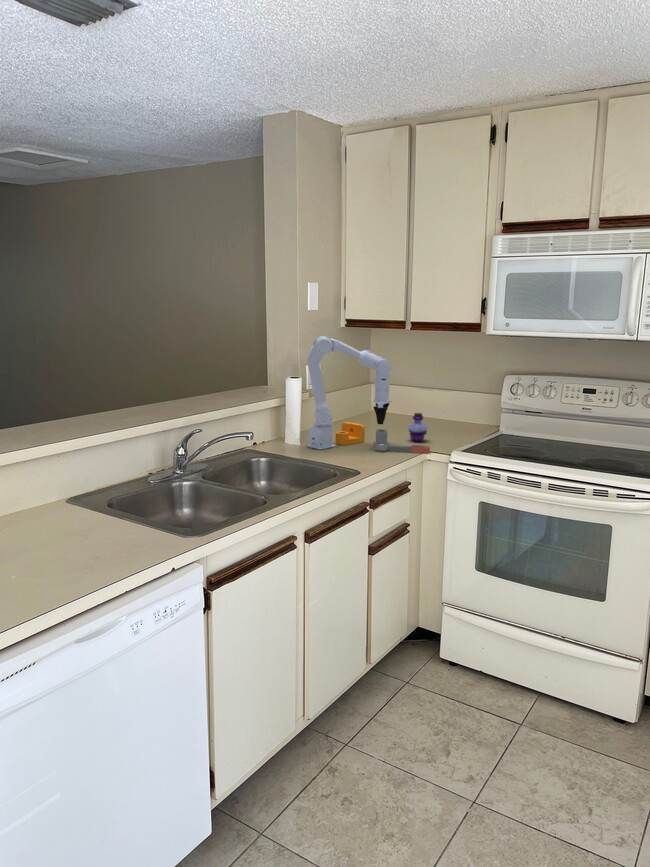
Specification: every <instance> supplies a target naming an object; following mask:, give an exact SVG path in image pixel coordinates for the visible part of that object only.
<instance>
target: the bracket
mask: <svg viewBox="0 0 650 867" xmlns="http://www.w3.org/2000/svg"><path fill="white" fill-rule="evenodd" d="M365 434H366V427H365V425H364V424H361V423H357V422H356V423H355V422H348V421H345V422H342V423H341V430H340V431H339V430H338V431H335V441H334V442H335V444H334V445H338V446H346V445H347V446H348V445H356V444H357V445H358V444H362V443H365V441H366V440H365V439H366V437H365Z"/></svg>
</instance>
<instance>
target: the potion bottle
mask: <svg viewBox="0 0 650 867" xmlns="http://www.w3.org/2000/svg"><path fill="white" fill-rule="evenodd" d="M412 420H414V422H412V423H408V424H407V429H408V432H409V438H410V442H412V443H417V444H419V443H423V442H424V440H425V437H426V435H427V432H428V428H429V425H428V424H427V423H423V422H422V421H423V420H424V415H423V413H422V412H415V413H414V415H413V416H412Z"/></svg>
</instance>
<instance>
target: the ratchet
mask: <svg viewBox="0 0 650 867" xmlns="http://www.w3.org/2000/svg"><path fill="white" fill-rule="evenodd" d="M373 451H374V452H377V451H378V452H377V453H387V451H388V452H391V451H394V452H395V453H396V452H397V453H410V454H429V455H430V454H431V452H430V451H431V446H430V445H422V444H421V445H418V444H417V445H415V444H412V445H398V444H397V445H394V444H390V442H387V444H376V441H374V443H373ZM394 452H393V453H394Z"/></svg>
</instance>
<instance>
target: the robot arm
mask: <svg viewBox="0 0 650 867" xmlns="http://www.w3.org/2000/svg"><path fill="white" fill-rule="evenodd" d="M330 352H333V353H336V352H342V353H344V354H345V355H348V356H349V357H352V358H355V359H356V360H357V362H358V364H360V365H361V366H364V367H367V368H368V369H371V370H372V371H373V370H375V379H374V380H375V383H374V401H373V402H374V403H375V406H373V410H374V412H375V415H376V422H377V425H384V423H385V422H384V421H386V415H387V411H388V409H389V406H390V403H392V402H393V400H392V399H390V382H391V381H390V373H391V371H392V365H391V364H392V363H390V362H389V361H388V360H387V359H385V358H384V357H382V356H381V355H379V356H378V355H377V354H375V353H373V352H372V350H370V349H367V350H366V349H364V350H358V349H356V348H354V347H352V346H351V345H349V344H346V343H344V342H342V341H340V340H337V339H334V338H331V337H330V338H329V337H328V336H326V335H321V336H318V337H317V338H316V339H315V340H314V342H313V343H312V345H311V347H310V350H309V352H308V355H307V358H306V362H307V367H308V372H309V376H310V382H311V388H312V391H313V397H314V403H315V404H314V405H315V412H314V417H315V419H316V421H315V422H314V425H313V426H311V427H309V429H308V434H307V435H308V437H307V438H308V439H307V441H308V442H307V445H306V447H309V448H312V449H316V450H327V449H330V448H334V447H337V444H334V443H333V423H332V420H333V414H332V413H331V411H330V409H329V407H328V402H327V398H326V392H325V386H324V382H323V381H324V380H323V376H322V370H321V365H320V362H321V361H322V360H323V358H324V357H325V356H326V355H328V354H329V353H330Z"/></svg>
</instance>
